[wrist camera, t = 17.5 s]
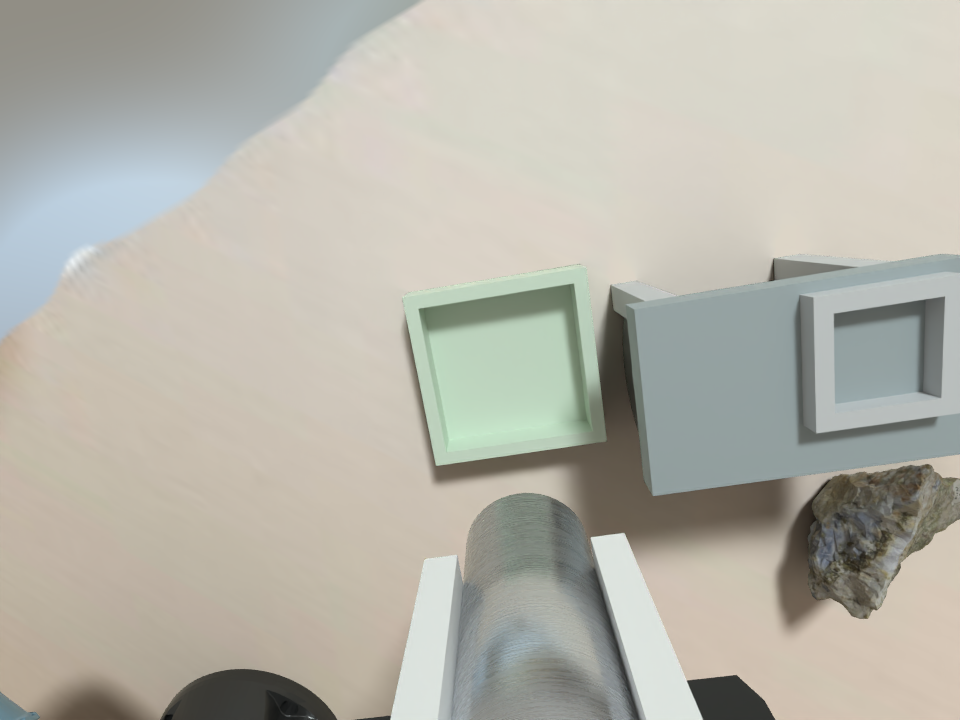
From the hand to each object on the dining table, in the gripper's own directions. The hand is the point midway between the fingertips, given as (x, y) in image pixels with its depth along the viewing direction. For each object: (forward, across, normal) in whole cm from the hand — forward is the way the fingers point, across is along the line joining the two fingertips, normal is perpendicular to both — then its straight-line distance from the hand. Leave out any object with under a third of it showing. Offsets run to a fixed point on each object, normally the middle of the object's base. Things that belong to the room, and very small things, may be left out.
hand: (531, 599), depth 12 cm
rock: (+17, +17, -12) cm, 27 cm away
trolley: (+23, +13, -1) cm, 27 cm away
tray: (+23, 0, 0) cm, 23 cm away
